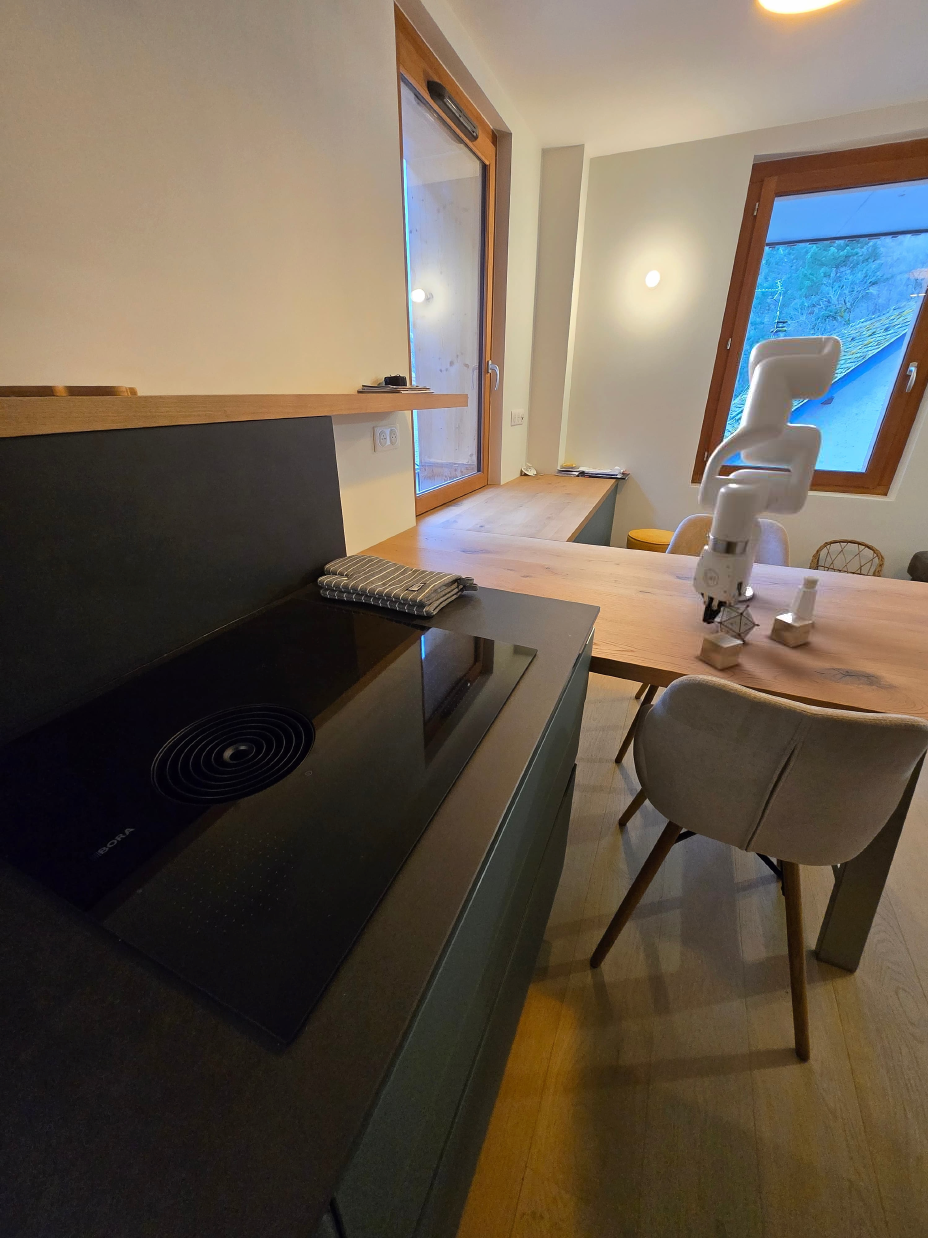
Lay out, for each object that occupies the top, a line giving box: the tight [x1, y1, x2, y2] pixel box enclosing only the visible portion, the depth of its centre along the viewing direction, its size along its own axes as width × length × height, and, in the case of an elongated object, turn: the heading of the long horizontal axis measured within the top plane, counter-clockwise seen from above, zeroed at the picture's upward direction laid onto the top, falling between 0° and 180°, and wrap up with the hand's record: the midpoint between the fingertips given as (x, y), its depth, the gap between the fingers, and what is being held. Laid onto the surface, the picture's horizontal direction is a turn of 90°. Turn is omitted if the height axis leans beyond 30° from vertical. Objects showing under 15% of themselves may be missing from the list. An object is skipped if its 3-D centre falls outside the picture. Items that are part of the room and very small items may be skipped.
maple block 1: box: [698, 632, 744, 671], centre depth 99 cm, size 5×5×5 cm
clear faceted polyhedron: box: [709, 603, 761, 644], centre depth 106 cm, size 9×8×10 cm
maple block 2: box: [769, 613, 814, 648], centre depth 106 cm, size 5×5×5 cm
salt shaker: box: [786, 575, 820, 621], centre depth 113 cm, size 5×5×11 cm
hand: (709, 622), depth 112 cm, fingers closed
